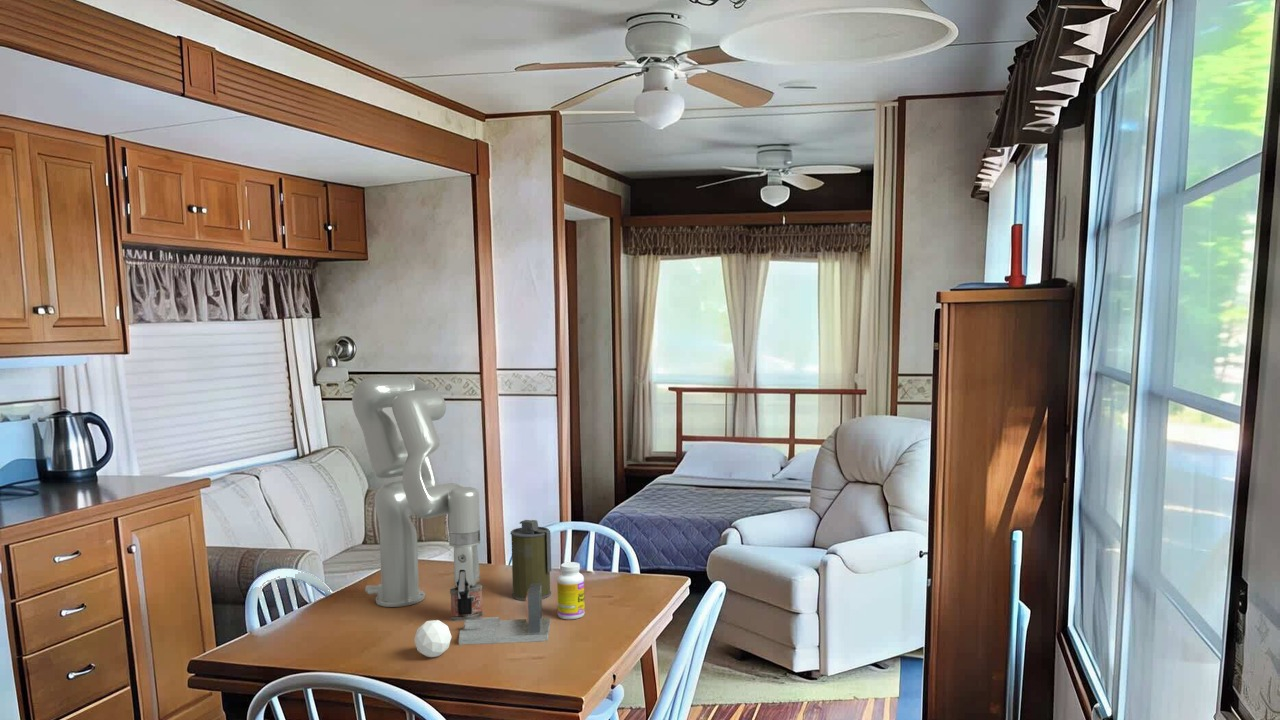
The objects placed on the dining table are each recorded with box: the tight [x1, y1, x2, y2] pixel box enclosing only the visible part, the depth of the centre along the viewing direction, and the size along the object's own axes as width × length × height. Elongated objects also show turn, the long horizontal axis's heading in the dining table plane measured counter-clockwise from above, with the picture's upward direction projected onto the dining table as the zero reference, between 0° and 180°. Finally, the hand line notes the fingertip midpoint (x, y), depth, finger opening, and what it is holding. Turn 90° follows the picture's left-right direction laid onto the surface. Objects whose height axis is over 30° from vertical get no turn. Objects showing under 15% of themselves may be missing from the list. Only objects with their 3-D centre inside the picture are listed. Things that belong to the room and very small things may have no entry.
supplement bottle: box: [556, 561, 586, 621], centre depth 206 cm, size 7×7×13 cm
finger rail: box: [458, 583, 551, 646], centre depth 194 cm, size 20×11×10 cm, turn 93°
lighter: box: [449, 576, 484, 622], centre depth 206 cm, size 8×3×10 cm, turn 117°
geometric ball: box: [414, 619, 453, 658], centre depth 182 cm, size 8×8×8 cm
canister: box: [509, 519, 552, 602], centre depth 223 cm, size 11×10×20 cm
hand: (466, 610), depth 207 cm, fingers closed on lighter, 4 cm apart
